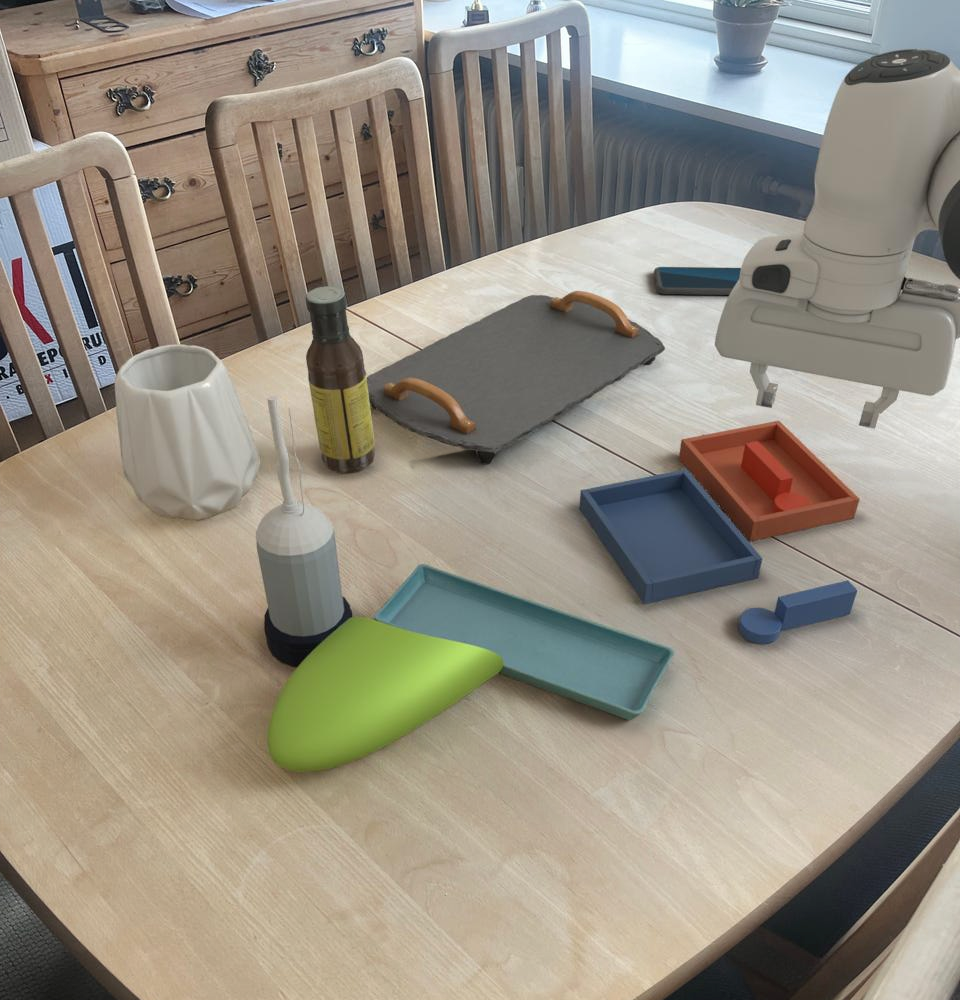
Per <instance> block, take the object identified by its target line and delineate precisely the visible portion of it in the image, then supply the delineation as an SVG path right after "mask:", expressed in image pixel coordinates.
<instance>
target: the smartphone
mask: <svg viewBox="0 0 960 1000" xmlns="http://www.w3.org/2000/svg"><path fill="white" fill-rule="evenodd" d="M740 271H741V267H712V266H711V267H709V266H708V267H705V266H704V267H702V266H700V267H699V266H658V267H655V268H654V270H653V276H654V282H655V288H656V292H657V293H659V294H661V295H707V296H708V295H710V296H729V295H730V293H731V292H732V290H733V288H734V286H735V285H736V283H737V282H738V280H739V278H740Z"/></svg>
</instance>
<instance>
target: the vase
mask: <svg viewBox="0 0 960 1000" xmlns="http://www.w3.org/2000/svg"><path fill="white" fill-rule="evenodd" d="M237 393H238V392H237V391H236V388H235V385H234V383H233V380H232V378H231V375H230V373H229V371H228V368H227V367H226V365H225V363H224V362H223V361H222V359H220V358H219V356H217V355H216V354H215V353H214V351H213V350H211V349H208V348H206V347H202V346H199V345H192V344H191V345H187V344H185V343H182V344H166V345H160V346H157V347H154V348H152V349H151V348H150V349H149V348H147V349H146V350H143V351H141V352H139V353H137V354H135V355H133V356H131V357H130V358H128V359H127V360H126V361H125V363H124V364H122V365H121V366H120V368H119V369H118V372H117V373H116V376H115V378H114V396H115V407H116V408H115V409H116V410H115V411H116V419H117V421H116V422H117V429H118V431H117V432H118V439H119V448H120V456H121V464H122V470H123V475H124V478H125V480H126V482H127V483H128V484H129V485H130V486H131V488H132V490H133V492H134V494H135V496H136V497H137V500H138V501H139V502H141V503H142V504H143V505H144V507H146V508H147V509H148V510H149V511H150V512H152V513H153V515H156V516H158V517H161V518H162V517H163V518H167V519H168V518H169V519H177V520H184V521H192V522H193V521H194V522H200V521H203V520H206V519H209V518H212V517H214V516H217V515H220V514H223V513H225V512H228V511H231V510H233V509H235V508H237V507H238V506H239V505H240V503H241V500H242V498H243V497H244V496H246V494H248V493H249V491H250V490H251V489H252V487H253V484H254V481H255V479H256V478H257V474H258V471H259V468H260V462H261V460H260V457H259V453H258V450H257V447H256V443H255V440H254V436H253V433H252V430H251V428H250V425H249V422H248V420H247V418H246V415H245V412H244V409H243V407H242V404H241V402H240V398H239V396H238V394H237Z"/></svg>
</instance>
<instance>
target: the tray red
mask: <svg viewBox="0 0 960 1000" xmlns="http://www.w3.org/2000/svg"><path fill="white" fill-rule="evenodd" d="M756 441H758V442H759V443H760V444H761V445H762V446H763V447H764V448H765V449H766V450H767V451H768V452H769V453H770V454H771V455H772V456H773V457H774V458H775V459H776V460H777V461H778V462H779V463H780V464H781V465H782V466H783V467H784V468H785V469H786V470H787V471H788V472H789V473H790V474H791V475H792V476H793V481H792V486H791V490H790V492H792V493H798V494H801V495H803V496H805V497H806V498H808V499H809V500H810V502H811V505H810V506H805V507H801V508H796V509H791V510H787V511H782V512H777V513H773V504H774V501H773V500H772V499H771V498H770V497H769V496H768V495H767V494H766V493H765V492H764V491H763V490H762V488H761V487H760V486H759V485H758V484H757V483H756V482H755V481H754V480H753V479H752V478H751V477H750V476H749V474H748V473H747V472H746V471H745V470H744V469H743V468H742V467H741V463H742V458H743V453H744V448H745V444H746V443H751V442H756ZM678 459H679V460H680V461H681V462H682V464H683V465H684V466H685V467H686V469H687V470H688V471H689V472H690V474H691V475H692V476H693V477H694V478H695V479H696V481H697V482H698V483H699V484H700V485H701V487H702V488H703V489H704V490H705V491H706V492H707V494H708V495H709V496H710V497H711V498H712V499H713V501H714V502H715V503H716V504H717V505H718V506H719V508H720V509H721V510H722V511H723V512H724V514H725V515H726V516H727V517H728V518H729V519H730V521H731V522H732V523H733V524H734V525H735V526H736V528H737V529H738V530H739V531H740V532H741V534H742V535H743V536H744V537H745V538H746V539H747V541H748V542H753V541H758V540H762V539H766V538H770V537H771V538H772V537H776V536H781V535H784V534H789V533H795V532H799V531H802V530H803V531H804V530H807V529H812V528H816V527H821V526H825V525H831V524H835V523H838V522H843V521H848V520H852V519H855V517H856V514H857V510H858V506H859V503H860V499H861V498H859V497H858V496H857V494H855V492H853V491H852V490H851V489H850V488H849V487H848V486H847V485H846V484H845V483H844V482H843V481H842V480H841V479H840V478H839V477H838V476H836V474H835V473H834V472H833V471H832V470H830V468H828V466H827V465H826V464H824V463H823V462H822V460H820V459H819V458H818V457H817V455H815V454H814V452H812V451H811V450H810V449H809V448H808V447H807V446H806V445H805V444H804V443H803V442H802V441H801V440H800V439H799V438H798V437H797V436H796V435H794V433H793V432H792V431H790V430H789V429H788V427H787V426H785V425H784V424H783V423H782V422H781V421H780V420H775V421H770V422H764V423H759V424H754V425H749V426H743V427H739V428H733V429H728V430H723V431H718V432H712V433H708V434H702V435H697V436H692V437H691V436H690V437H687V438H686V437H685V438H682V439H681V441H680V447H679V455H678Z"/></svg>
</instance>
